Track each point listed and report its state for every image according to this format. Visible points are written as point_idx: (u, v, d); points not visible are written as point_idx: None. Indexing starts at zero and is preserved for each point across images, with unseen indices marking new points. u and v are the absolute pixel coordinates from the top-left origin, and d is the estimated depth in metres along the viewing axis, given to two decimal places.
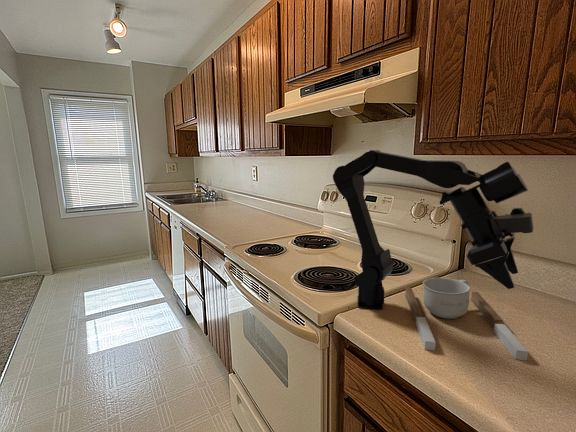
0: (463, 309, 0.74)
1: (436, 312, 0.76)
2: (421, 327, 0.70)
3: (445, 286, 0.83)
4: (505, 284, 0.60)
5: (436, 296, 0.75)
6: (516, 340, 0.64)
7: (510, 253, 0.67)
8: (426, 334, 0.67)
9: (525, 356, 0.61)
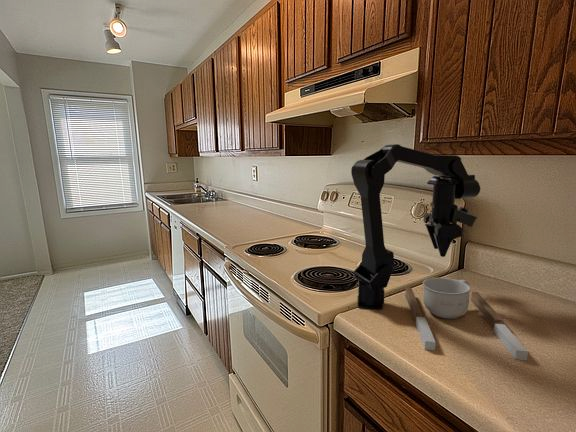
0: (463, 309, 0.74)
1: (436, 312, 0.76)
2: (421, 327, 0.70)
3: (445, 286, 0.83)
4: (441, 253, 0.86)
5: (436, 296, 0.75)
6: (516, 340, 0.64)
7: None
8: (426, 334, 0.67)
9: (525, 356, 0.61)
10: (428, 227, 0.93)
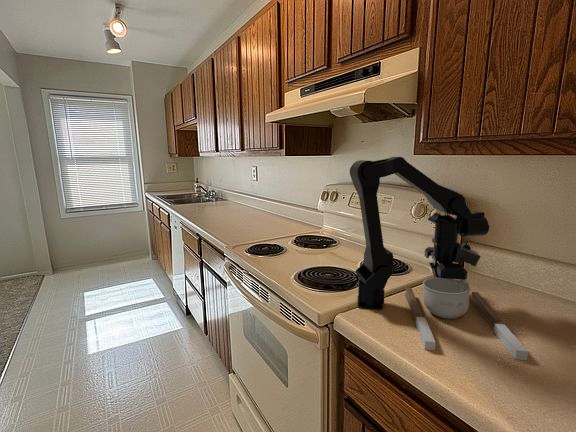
0: (463, 309, 0.74)
1: (436, 312, 0.76)
2: (421, 327, 0.70)
3: (445, 285, 0.83)
4: None
5: (436, 296, 0.75)
6: (516, 340, 0.64)
7: None
8: (426, 334, 0.67)
9: (525, 356, 0.61)
10: (433, 267, 0.87)
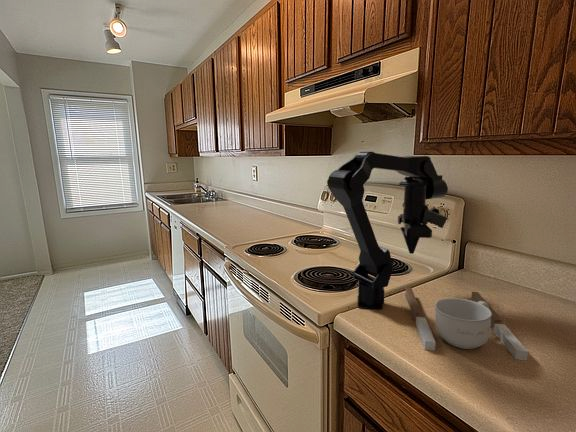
0: (484, 339, 0.62)
1: (451, 341, 0.64)
2: (421, 327, 0.70)
3: (461, 308, 0.71)
4: (410, 250, 0.89)
5: (451, 322, 0.63)
6: (516, 340, 0.64)
7: None
8: (426, 334, 0.67)
9: (525, 356, 0.61)
10: (403, 230, 0.90)
